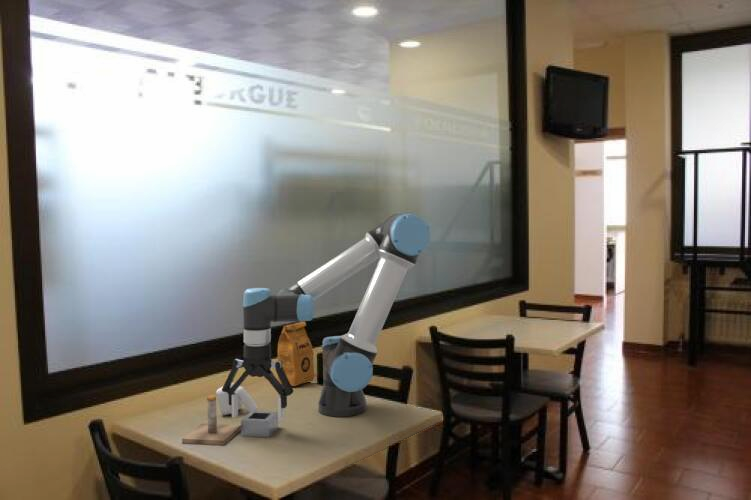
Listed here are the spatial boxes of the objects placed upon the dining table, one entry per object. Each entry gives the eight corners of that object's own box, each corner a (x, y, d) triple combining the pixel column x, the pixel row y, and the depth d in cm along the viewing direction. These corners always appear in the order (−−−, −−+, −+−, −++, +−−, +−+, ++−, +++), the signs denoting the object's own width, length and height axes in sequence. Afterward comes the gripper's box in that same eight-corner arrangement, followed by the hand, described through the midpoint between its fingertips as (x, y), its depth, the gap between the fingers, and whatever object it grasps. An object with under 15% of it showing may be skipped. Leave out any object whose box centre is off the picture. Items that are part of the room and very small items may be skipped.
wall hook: (254, 416, 187) (245, 384, 187) (223, 422, 189) (215, 390, 189) (264, 407, 195) (256, 377, 195) (234, 414, 197) (226, 383, 197)
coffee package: (318, 381, 226) (317, 321, 225) (293, 389, 216) (292, 327, 215) (299, 377, 232) (297, 319, 231) (274, 385, 223) (272, 324, 221)
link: (278, 427, 179) (277, 411, 178) (268, 437, 171) (268, 421, 171) (251, 426, 180) (251, 410, 180) (241, 435, 172) (240, 420, 172)
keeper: (241, 429, 177) (240, 390, 177) (224, 445, 166) (222, 403, 165) (201, 427, 179) (200, 389, 179) (182, 443, 168) (180, 402, 167)
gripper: (304, 342, 176) (304, 416, 177) (220, 339, 180) (221, 411, 181) (296, 348, 168) (296, 424, 169) (209, 344, 172) (210, 419, 173)
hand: (257, 417), depth 175 cm, fingers open, 13 cm apart
